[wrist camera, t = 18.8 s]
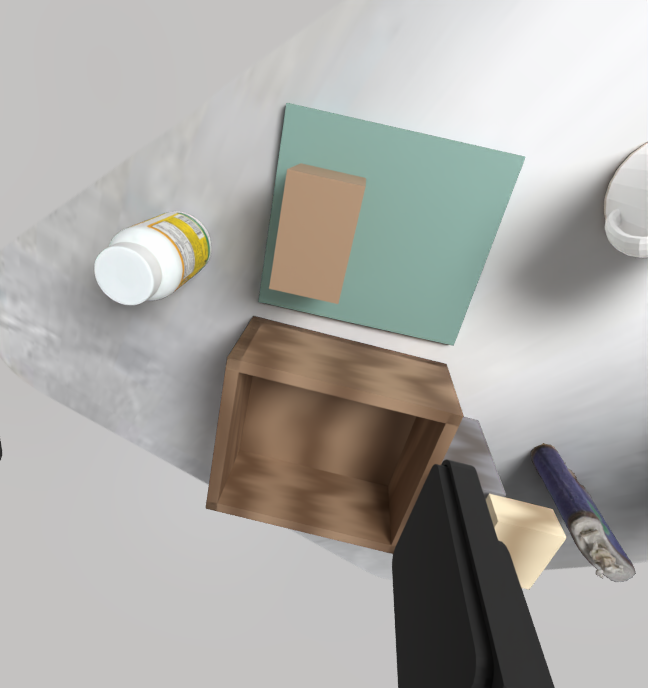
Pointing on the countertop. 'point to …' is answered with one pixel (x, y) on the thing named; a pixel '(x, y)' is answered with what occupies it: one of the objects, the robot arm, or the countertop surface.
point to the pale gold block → (526, 535)
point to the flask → (582, 516)
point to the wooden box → (335, 434)
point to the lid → (381, 223)
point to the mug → (629, 205)
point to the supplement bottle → (153, 258)
